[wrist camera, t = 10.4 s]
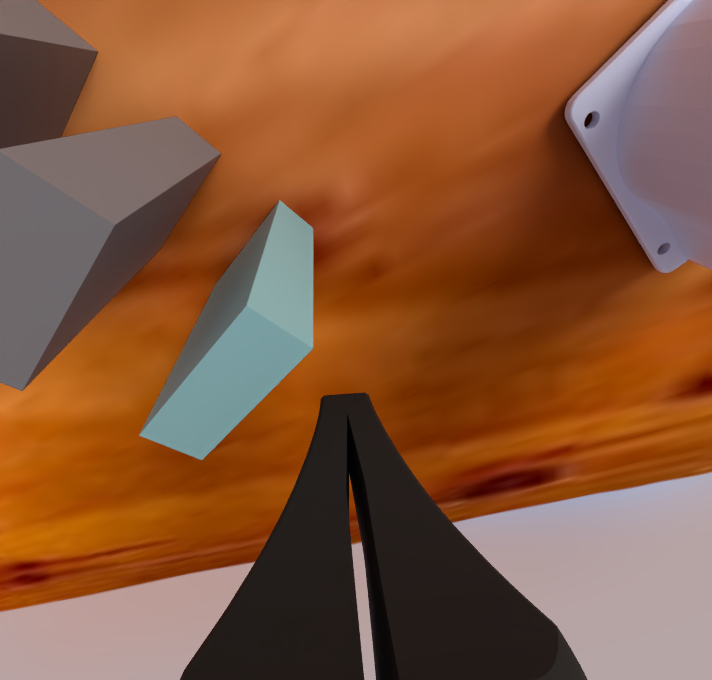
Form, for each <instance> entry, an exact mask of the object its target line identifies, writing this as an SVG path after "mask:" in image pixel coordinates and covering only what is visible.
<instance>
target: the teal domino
mask: <svg viewBox="0 0 712 680" xmlns="http://www.w3.org/2000/svg"><path fill="white" fill-rule="evenodd" d="M312 349H313V228H312V227H311V226H310V225H309V224H307V223H306V222H305V221H304V220H303V219H301V218H300V217H299V216H298V215H297V214H295V213H294V212H293V211H292V210H291V209H289V208H288V207H287V206H286V205H285V204H283V203H282V202H281V201H280V200H279V202H278V203H277V204H276V206H275V207H274V208H273V210H272V211H271V212H270V213H269V215H268V216H267V217H266V219H265V220H264V221H263V223H262V224H261V225H260V227H259V228H258V229H257V231H256V232H255V233H254V235H253V236H252V237H251V239H250V240H249V241H248V242H247V244H246V245H245V246H244V248H243V249H242V250H241V252H240V253H239V254H238V256H237V257H236V258H235V260H234V261H233V262H232V264H231V265H230V266H229V268H228V269H227V270H226V271H225V273H224V274H223V275H222V277H221V278H220V279H219V281H218V282H217V283H216V285H215V287H214V289H213V291H212V292H211V294H210V296H209V298H208V300H207V302H206V304H205V306H204V308H203V310H202V312H201V314H200V316H199V318H198V320H197V322H196V324H195V326H194V328H193V330H192V332H191V334H190V336H189V338H188V340H187V342H186V344H185V346H184V348H183V350H182V351H181V353H180V355H179V357H178V359H177V361H176V363H175V365H174V367H173V369H172V371H171V373H170V375H169V377H168V379H167V381H166V383H165V385H164V387H163V389H162V391H161V393H160V395H159V397H158V399H157V401H156V403H155V405H154V407H153V409H152V411H151V412H150V414H149V416H148V418H147V420H146V422H145V424H144V426H143V428H142V430H141V432H140V434H139V436H142V437H144V438H147V439H149V440H152V441H154V442H157V443H160V444H162V445H165V446H167V447H170V448H172V449H175V450H177V451H180V452H182V453H185V454H187V455H190V456H192V457H195V458H197V459H200V460H203V459H204V458H205V457H206V456H207V455H208V454H209V453H210V452H211V451H212V450H213V449H214V448H215V447H216V446H217V445H218V444H219V443H220V442H221V441H222V440H223V439H224V438H225V437H226V435H227V434H228V433H229V432H230V431H231V430H232V429H233V428H234V427H235V426H236V425H237V424H238V423H239V422H240V421H241V420H242V419H243V418H244V417H245V416H246V415H247V414H248V413H249V412H250V411H251V410H252V409H253V408H254V407H255V406H256V405H257V404H258V403H259V402H260V401H261V400H262V399H263V398H264V397H265V396H266V395H267V394H268V393H269V392H270V391H271V390H272V389H273V388H274V387H275V386H276V385H277V384H278V383H279V382H280V381H281V380H282V379H283V378H284V377H285V376H286V375H287V374H288V373H289V372H290V371H291V370H292V369H293V368H294V367H295V366H296V365H297V364H298V363H299V362H300V361H301V360H302V359H303V358H304V357H305V356H306V355H307V354H308V353H309V352H310V351H311V350H312Z"/></svg>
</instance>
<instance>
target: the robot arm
mask: <svg viewBox="0 0 712 680" xmlns="http://www.w3.org/2000/svg"><path fill="white" fill-rule="evenodd" d="M591 112H592V120H591V122H590V124H589V125H588V126H586V127H585V126H584V121H585V118H586V117H587V115H588V114H589V113H591ZM565 119H566V121H567V123H568V125H569V126H570V128H571V130H572V131H573V133H574V135H575V136H576V138H577V140H578V141H579V143H580V145H581V146H582V148H583V150H584V151H585V153H586V155H587V156H588V158H589V160H590V161H591V163H592V165H593V166H594V168H595V170H596V171H597V173H598V175H599V176H600V178H601V180H602V181H603V183H604V185H605V186H606V188H607V190H608V191H609V193H610V195H611V196H612V198H613V200H614V201H615V203H616V205H617V206H618V208H619V210H620V211H621V213H622V215H623V216H624V218H625V220H626V221H627V223H628V225H629V226H630V228H631V230H632V231H633V233H634V235H635V236H636V238H637V240H638V241H639V243H640V245H641V246H642V248H643V250H644V251H645V253H646V255H647V256H648V258H649V260H650V261H651V263H652V265H653V266H654V268H655V269H656V270H658V271H660V272H662V273H669V272H671V271H673V270H675V269H676V268H678V267H679V266H681V265H682V264H683V263H685V262H686V261H688V260H690V261H693V262H695V263H697V264H699V265H701V266H704V267H706V268H708V269H710V270H712V0H668V1H667V2H666V3H665V4H664V5H663V6H662V7H661V8H660V9H659V10H658V11H657V12H656V13H655V14H654V15H653V16H652V17H651V18H650V19H649V20H648V21H647V22H646V23H645V24H644V25H643V26H642V27H641V28H640V29H639V30H638V31H637V32H636V33H635V34H634V35H633V36H632V37H631V38H630V39H629V40H628V41H627V42H626V43H625V44H624V45H623V46H622V47H621V48H620V49H619V50H618V51H617V52H616V53H615V54H614V55H613V56H612V57H611V58H610V59H609V60H608V61H607V62H606V63H605V64H604V65H603V66H602V67H601V68H600V69H599V70H598V71H597V72H596V73H595V74H594V75H593V76H592V77H591V78H590V79H589V80H588V81H587V82H586V83H585V84H584V85H583V86H582V87H581V88H580V89H579V90H578V91H577V92H576V93H575V94H574V95H573V96H572V97H571V98H570V100H569V101H568V103H567V105H566V108H565ZM661 245H662V247H661V248H660V249H659V247H660V246H661ZM658 249H659V250H658ZM349 474H350V480H351V485H352V491H353V496H354V502H355V507H356V513H357V518H358V524H359V529H360V535H361V540H362V546H363V552H364V560H365V568H366V578H367V588H368V598H369V609H370V619H371V629H372V640H373V651H374V661H375V671H376V680H587V678H586V676H585V674H584V672H583V670H582V668H581V666H580V664H579V662H578V661H577V659H576V657H575V655H574V654H573V652H572V650H571V648H570V647H569V645H568V643H567V642H566V640H565V639H564V637H563V635H562V634H561V632H560V630H559V629H558V627H557V626H556V625H555V624H554V623H553V622H552V621H551V620H550V619H549V618H547V617H546V616H545V615H544V614H543V613H542V612H541V611H540V610H539V609H538V608H536V607H535V606H534V605H533V604H532V603H531V602H530V601H529V600H528V599H526V598H525V597H524V596H523V595H522V594H521V593H520V592H519V591H518V590H517V589H515V587H514V586H512V585H511V584H510V583H509V582H508V581H507V580H506V579H505V578H504V577H503V576H502V575H501V574H500V573H499V572H498V571H497V570H496V569H495V568H494V567H493V566H492V565H491V564H490V563H489V562H488V561H487V560H486V559H485V558H484V557H483V556H482V555H481V554H480V553H479V552H478V550H477V549H476V548H475V547H474V546H473V545H472V544H471V543H470V542H469V541H468V540H467V539H466V538H465V537H464V536H463V535H462V533H461V532H460V531H459V530H458V529H457V528H456V527H455V526H454V525H453V524H452V522H451V521H450V520H449V519H448V518H447V517H446V515H445V514H444V513H443V512H442V511H441V510H440V508H439V507H438V506H437V505H436V503H435V502H434V501H433V500H432V498H431V497H430V496H429V495H428V493H427V492H426V491H425V490H424V488H423V487H422V486H421V484H420V483H419V481H418V480H417V479H416V477H415V476H414V475H413V473H412V472H411V470H410V469H409V467H408V466H407V465H406V463H405V462H404V460H403V459H402V457H401V456H400V454H399V452H398V451H397V449H396V448H395V446H394V444H393V443H392V441H391V439H390V438H389V436H388V434H387V433H386V431H385V429H384V427H383V425H382V424H381V422H380V420H379V418H378V416H377V414H376V412H375V410H374V407H373V405H372V403H371V400H370V398H369V395H368V394H366V393H353V394H339V395H326V396H323V397H322V398H321V404H320V411H319V416H318V420H317V424H316V428H315V432H314V435H313V438H312V441H311V444H310V447H309V450H308V453H307V456H306V459H305V461H304V464H303V466H302V469H301V471H300V474H299V476H298V479H297V481H296V484H295V486H294V488H293V490H292V493H291V495H290V497H289V499H288V501H287V504H286V506H285V508H284V510H283V512H282V514H281V516H280V518H279V520H278V522H277V524H276V526H275V527H274V529H273V531H272V533H271V535H270V537H269V539H268V540H267V542H266V544H265V546H264V548H263V550H262V551H261V553H260V555H259V557H258V558H257V560H256V562H255V564H254V565H253V567H252V568H251V570H250V572H249V574H248V575H247V577H246V578H245V580H244V581H243V583H242V585H241V586H240V588H239V590H238V591H237V593H236V594H235V596H234V598H233V599H232V601H231V602H230V604H229V606H228V607H227V609H226V610H225V612H224V613H223V615H222V616H221V618H220V619H219V621H218V622H217V624H216V625H215V626H214V628H213V629H212V631H211V632H210V634H209V635H208V636H207V638H206V639H205V641H204V642H203V644H202V645H201V647H200V648H199V650H198V651H197V652H196V654H195V655H194V657H193V658H192V660H191V661H190V662H189V664H188V665H187V667H186V669H185V670H184V672H183V674H182V676H181V679H180V680H364V673H363V663H362V653H361V642H360V632H359V622H358V611H357V601H356V591H355V579H354V569H353V558H352V547H351V536H350V525H349Z"/></svg>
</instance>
